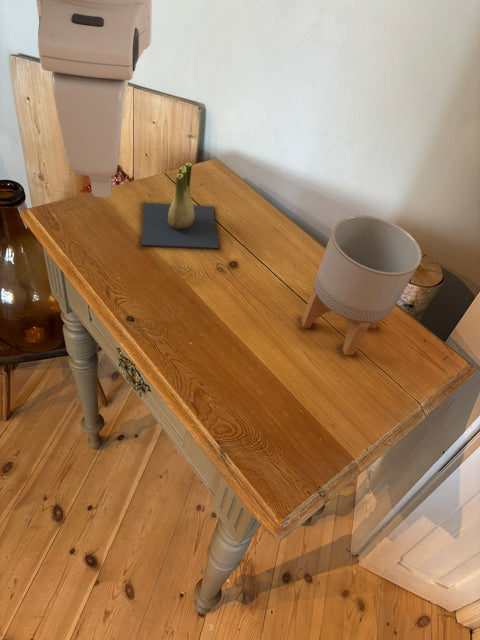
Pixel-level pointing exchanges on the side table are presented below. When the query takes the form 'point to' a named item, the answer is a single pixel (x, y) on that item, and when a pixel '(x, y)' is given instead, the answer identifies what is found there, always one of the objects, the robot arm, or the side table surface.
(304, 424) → the side table surface
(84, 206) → the side table surface
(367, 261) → the planter
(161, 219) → the mat
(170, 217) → the fennel bulb
